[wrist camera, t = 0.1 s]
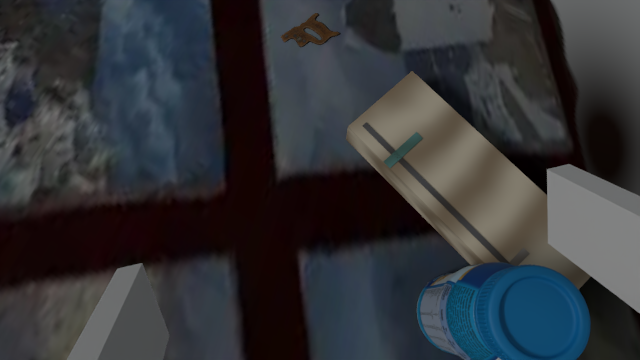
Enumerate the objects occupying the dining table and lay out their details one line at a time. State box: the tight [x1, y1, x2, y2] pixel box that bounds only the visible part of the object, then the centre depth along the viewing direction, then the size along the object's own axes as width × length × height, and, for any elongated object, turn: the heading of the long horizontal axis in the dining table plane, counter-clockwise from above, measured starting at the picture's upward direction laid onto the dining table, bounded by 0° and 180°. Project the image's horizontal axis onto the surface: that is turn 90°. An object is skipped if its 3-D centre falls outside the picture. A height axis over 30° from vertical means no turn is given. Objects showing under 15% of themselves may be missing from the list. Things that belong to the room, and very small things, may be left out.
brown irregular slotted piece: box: [281, 13, 340, 47], centre depth 56 cm, size 24×5×1 cm, turn 127°
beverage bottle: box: [417, 262, 590, 360], centre depth 39 cm, size 8×8×20 cm
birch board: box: [346, 71, 591, 290], centre depth 50 cm, size 28×10×4 cm, turn 42°
